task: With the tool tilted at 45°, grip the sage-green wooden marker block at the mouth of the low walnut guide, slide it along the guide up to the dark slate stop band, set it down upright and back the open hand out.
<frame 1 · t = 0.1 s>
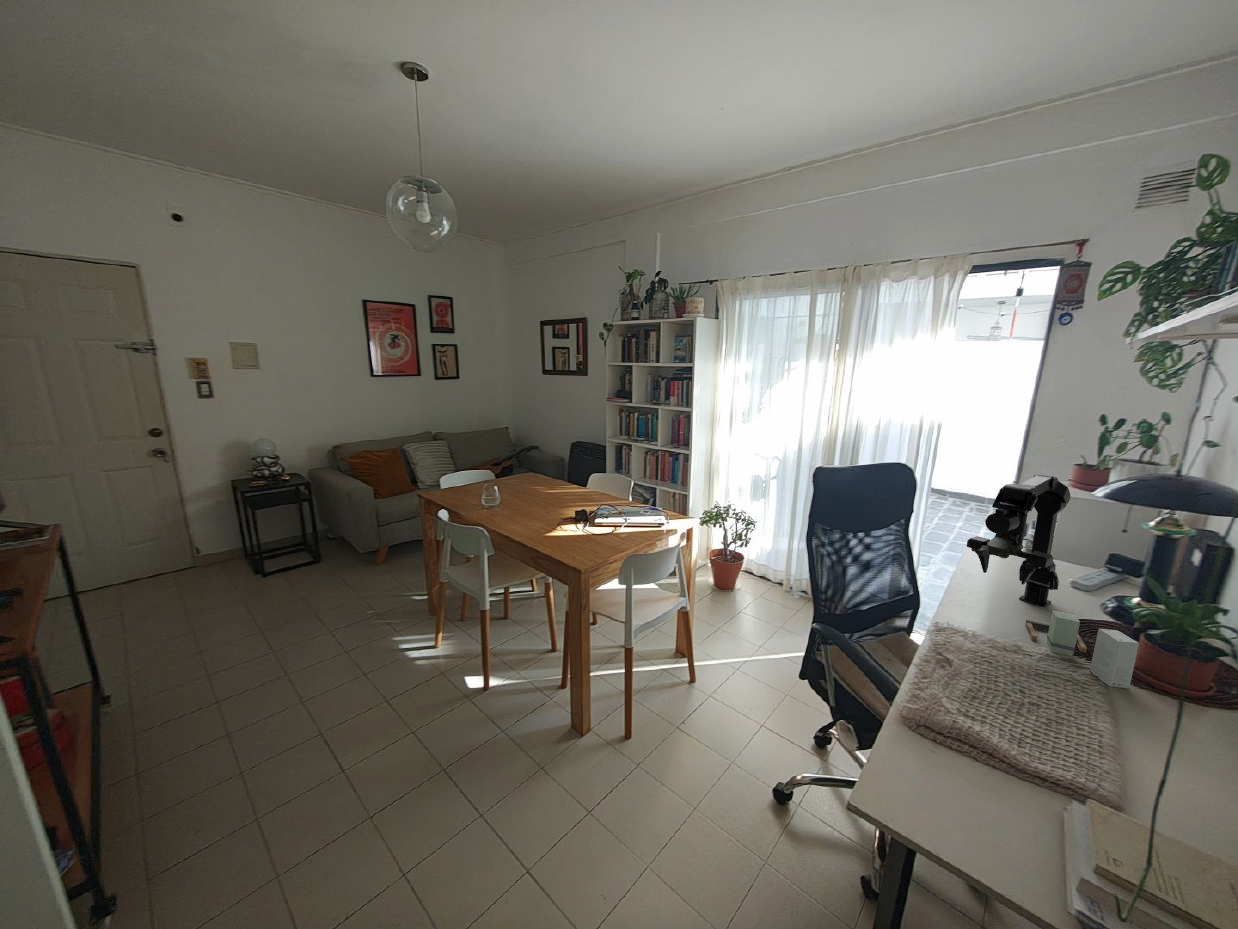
hand: (1003, 578, 133), 15 cm above the table, tool pointing down, fingers open, 9 cm apart
marker block: (1059, 649, 122), on the table
skincare box: (1108, 680, 110), on the table
walnut guide: (1055, 640, 126), on the table
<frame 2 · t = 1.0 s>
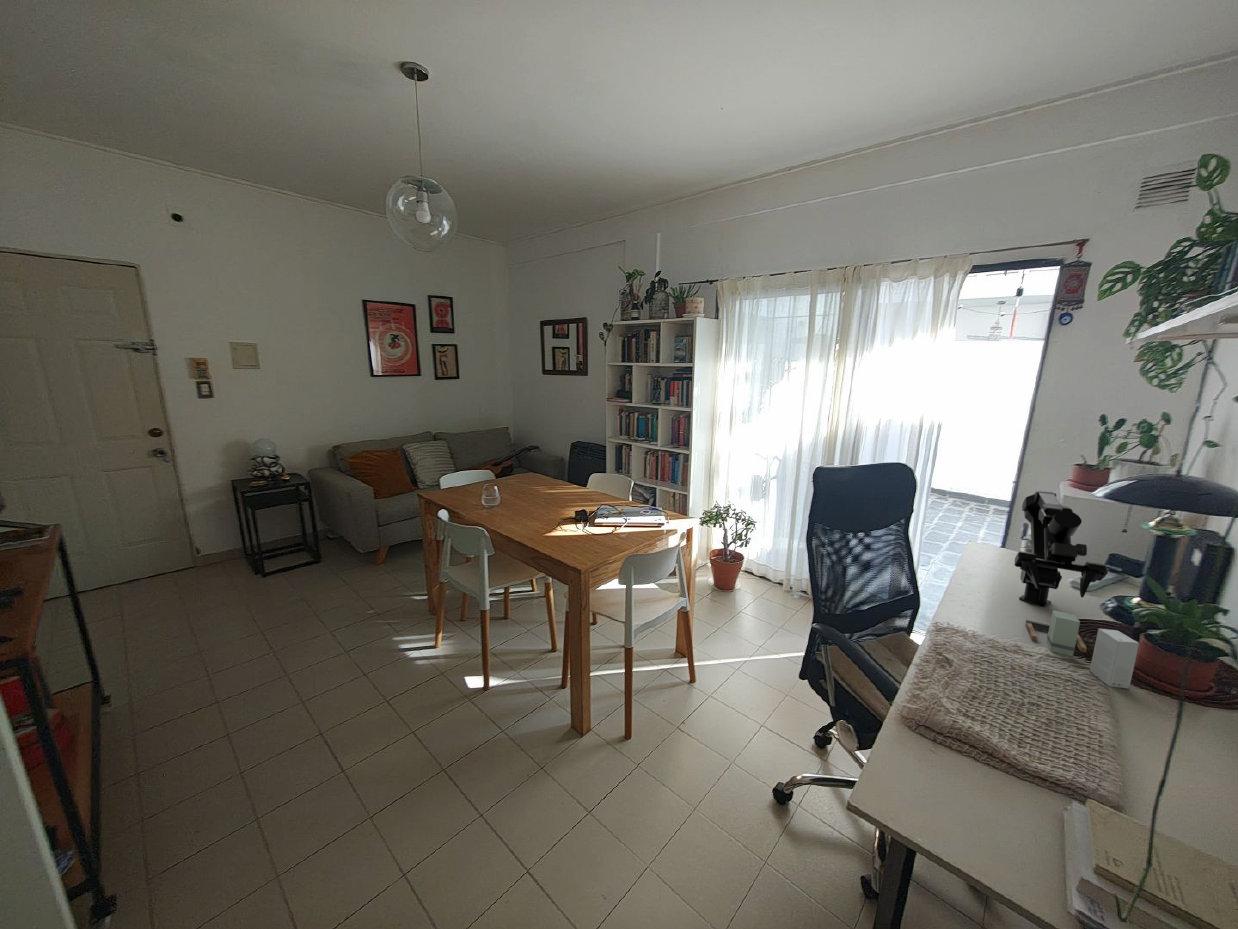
hand: (1059, 592, 126), 13 cm above the table, tool tilted 45°, fingers open, 9 cm apart
nothing on the table moved.
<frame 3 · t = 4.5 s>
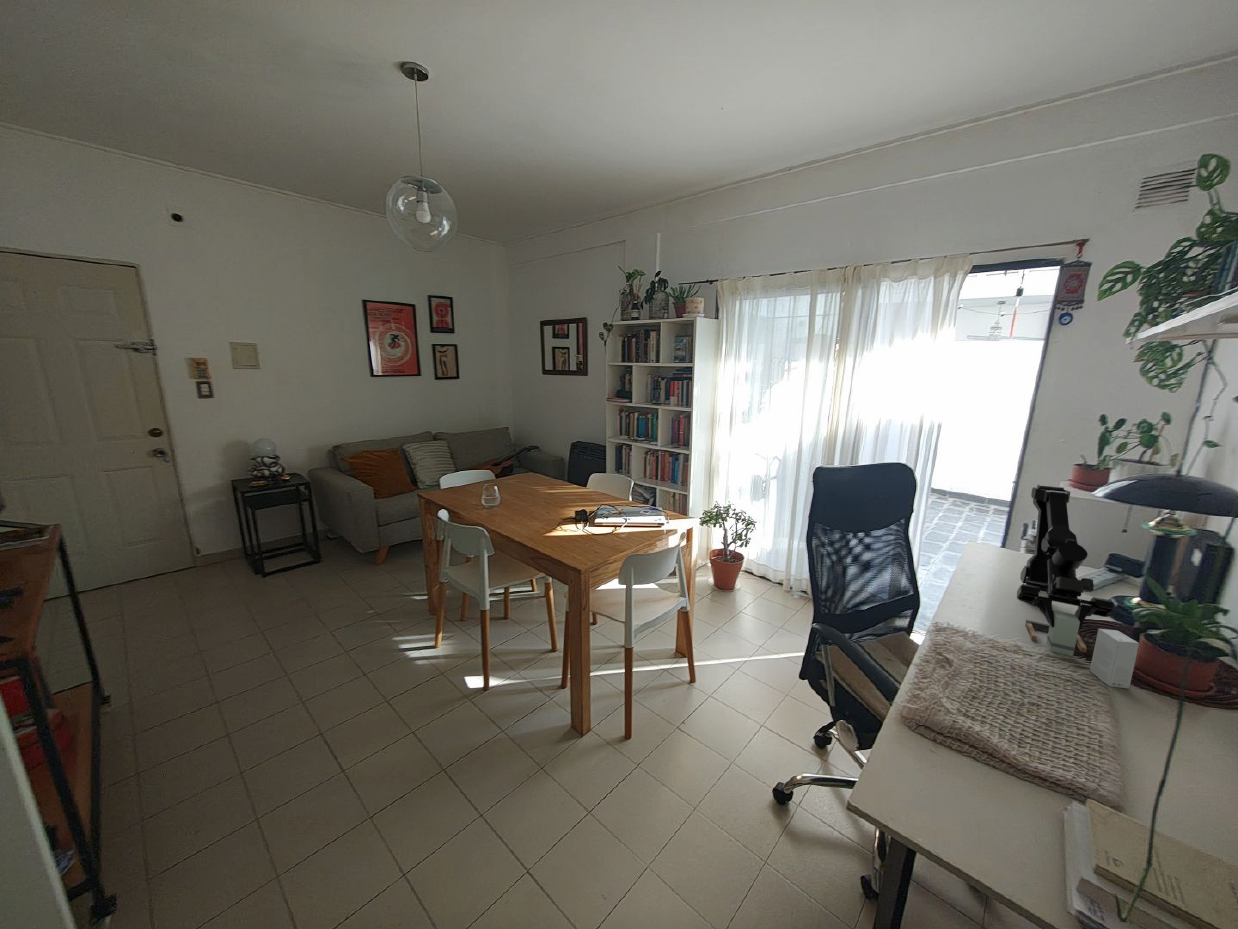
hand: (1065, 629, 120), 7 cm above the table, tool tilted 45°, fingers closed on marker block, 4 cm apart
marker block: (1059, 649, 122), on the table, touching gripper
everything else where it was.
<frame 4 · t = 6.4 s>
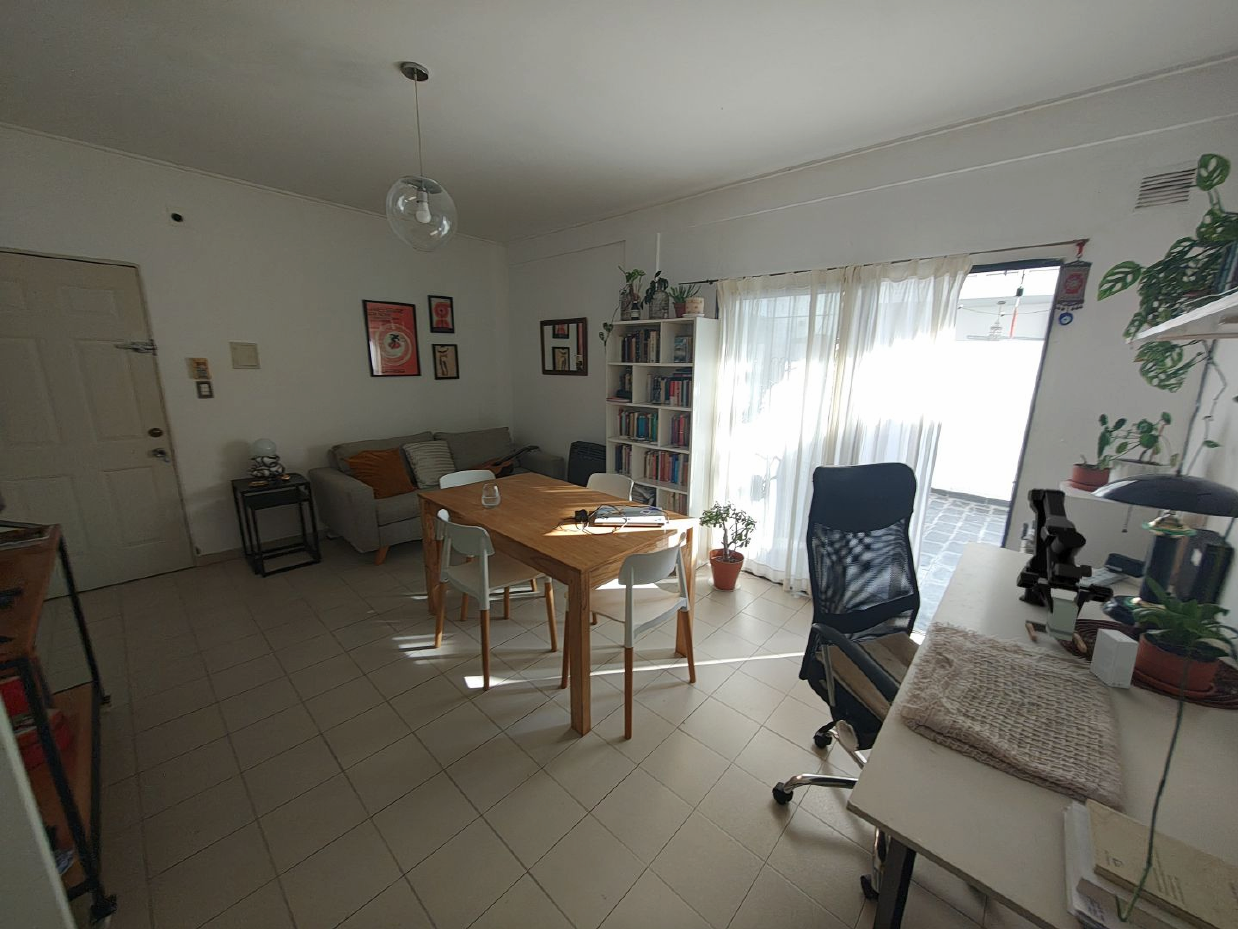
hand: (1063, 615, 122), 9 cm above the table, tool tilted 45°, fingers closed on marker block, 4 cm apart
marker block: (1058, 635, 124), point 3 cm above the table, touching gripper
everything else where it was.
when the fingers open (8 cm above the table, at t = 8.6 s): marker block stays where it is, on the table.
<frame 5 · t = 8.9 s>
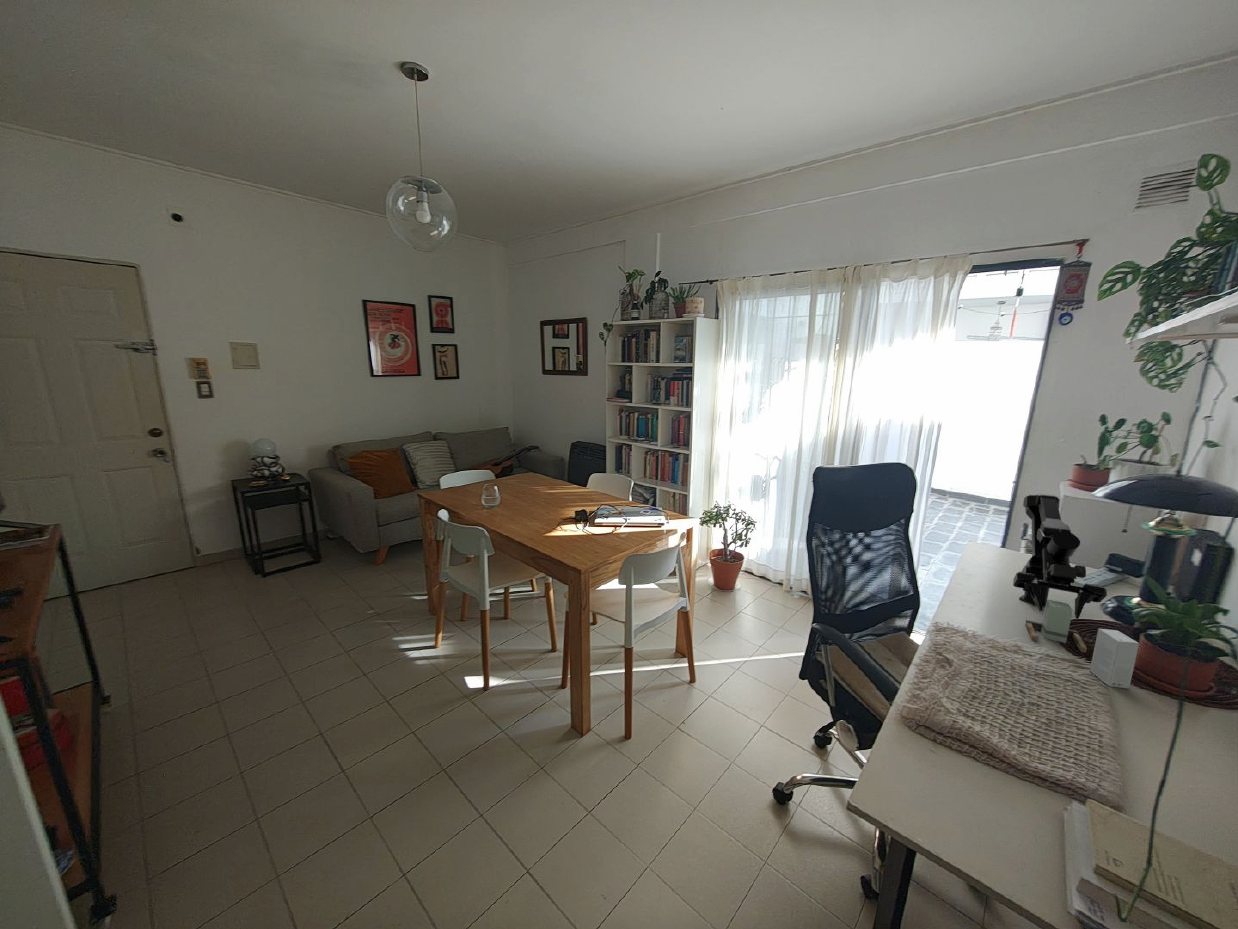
hand: (1058, 614, 126), 8 cm above the table, tool tilted 45°, fingers open, 7 cm apart
marker block: (1053, 636, 128), on the table
everything else where it was.
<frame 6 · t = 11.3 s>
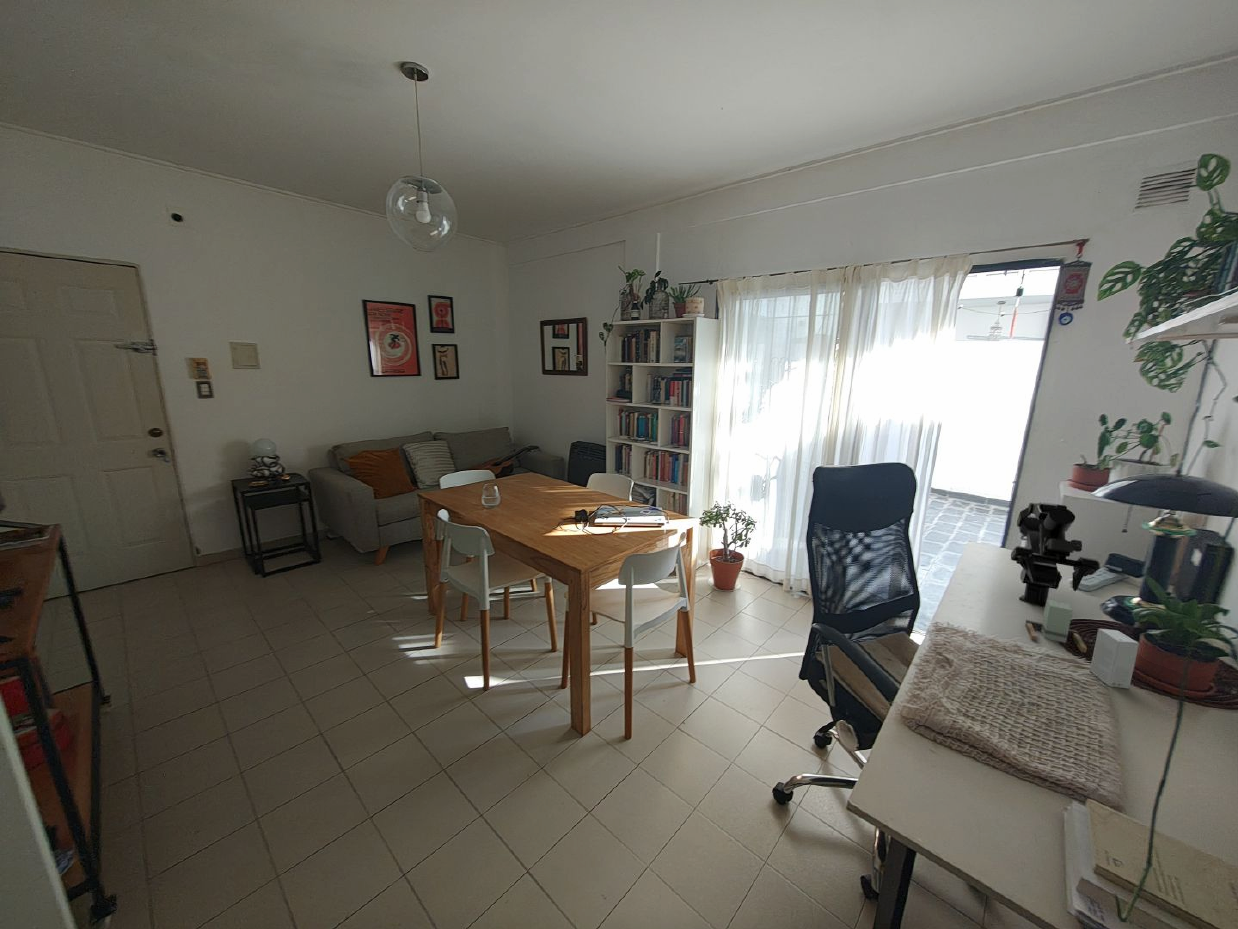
hand: (1053, 586, 132), 13 cm above the table, tool tilted 45°, fingers open, 9 cm apart
nothing on the table moved.
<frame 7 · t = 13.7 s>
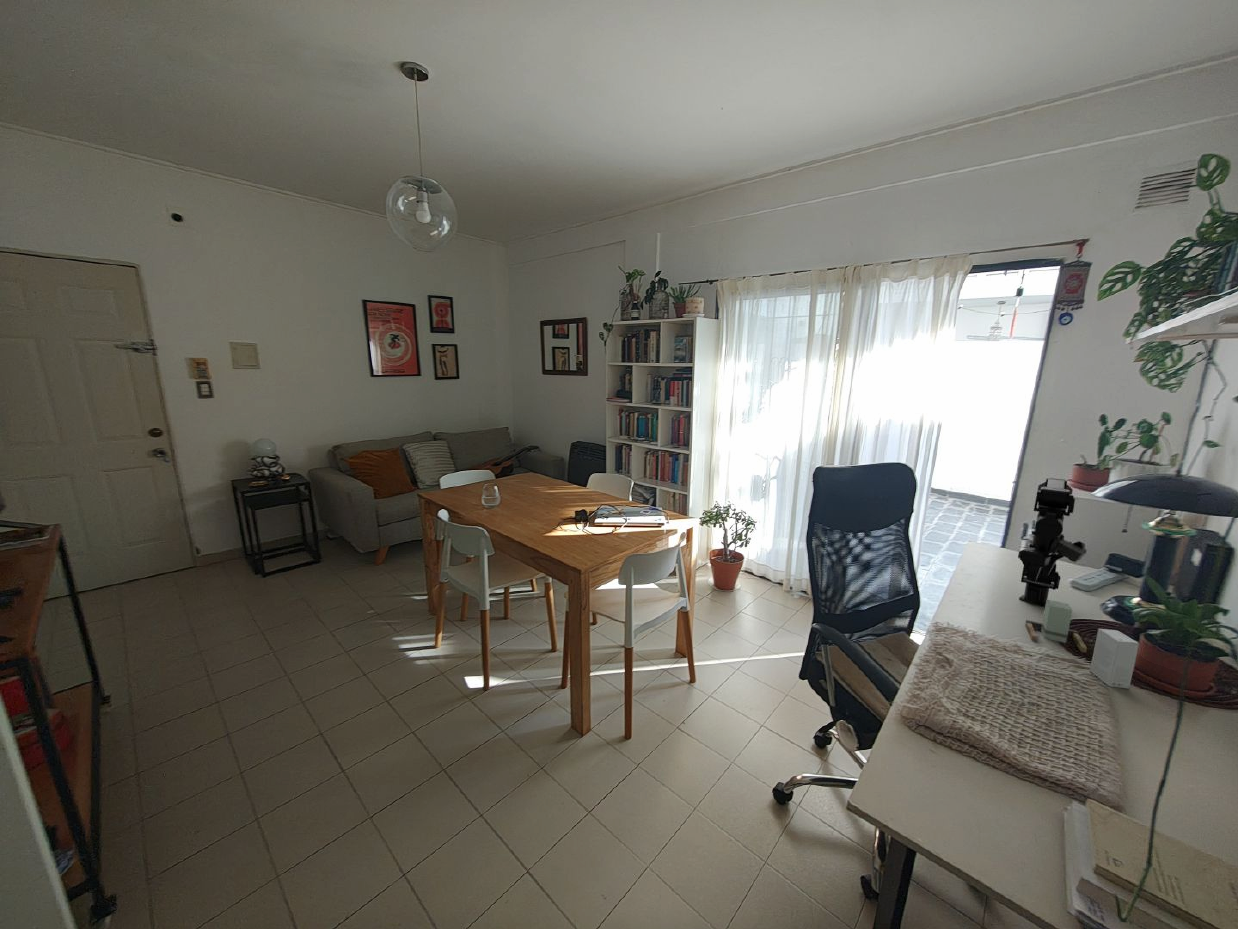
hand: (1039, 578, 137), 13 cm above the table, tool pointing down, fingers open, 9 cm apart
nothing on the table moved.
at the end: marker block 0.2 cm from the target spot, on the table; marker block tilted 0°; the gripper is holding nothing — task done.
